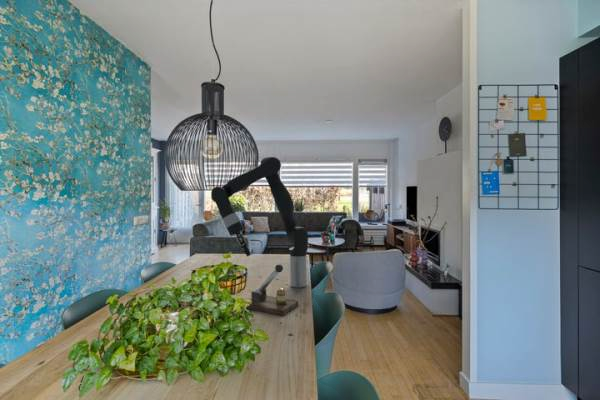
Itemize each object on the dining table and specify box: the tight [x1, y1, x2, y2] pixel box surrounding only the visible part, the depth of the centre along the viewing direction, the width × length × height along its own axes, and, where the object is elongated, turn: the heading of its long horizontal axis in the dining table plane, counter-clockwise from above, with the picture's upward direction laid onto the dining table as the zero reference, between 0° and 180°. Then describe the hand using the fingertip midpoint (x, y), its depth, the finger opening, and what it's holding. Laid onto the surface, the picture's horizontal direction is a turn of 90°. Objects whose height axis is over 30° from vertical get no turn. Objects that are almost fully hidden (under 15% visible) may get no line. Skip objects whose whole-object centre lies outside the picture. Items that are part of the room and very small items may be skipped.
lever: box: [254, 263, 284, 295], centre depth 143 cm, size 4×4×20 cm
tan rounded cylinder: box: [275, 287, 287, 305], centre depth 140 cm, size 4×4×7 cm
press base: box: [246, 288, 299, 316], centre depth 142 cm, size 14×22×6 cm, turn 63°
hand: (249, 255), depth 152 cm, fingers closed
